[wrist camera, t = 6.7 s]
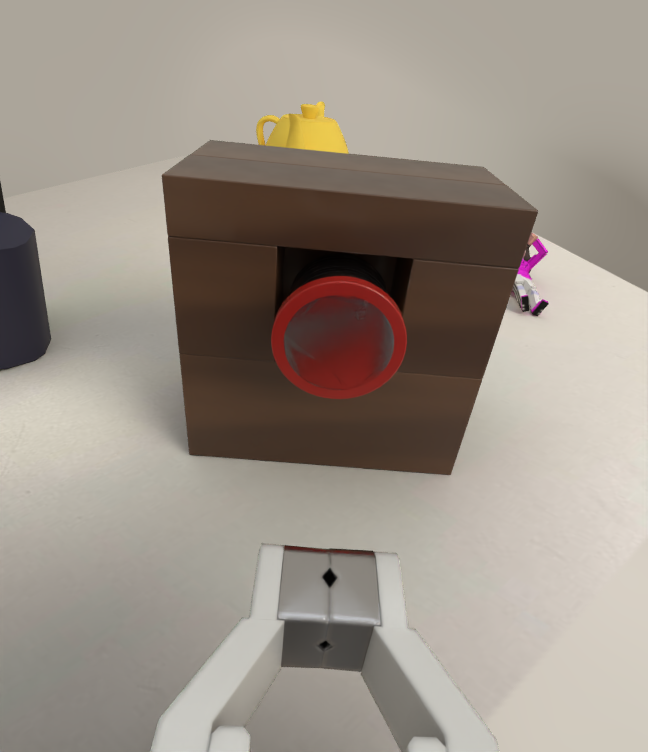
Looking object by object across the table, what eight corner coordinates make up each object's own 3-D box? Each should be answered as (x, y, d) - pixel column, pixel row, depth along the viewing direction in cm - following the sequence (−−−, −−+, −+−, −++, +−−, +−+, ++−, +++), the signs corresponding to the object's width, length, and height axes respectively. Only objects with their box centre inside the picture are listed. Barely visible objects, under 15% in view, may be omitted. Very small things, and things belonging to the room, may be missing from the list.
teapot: (270, 170, 83) (271, 93, 76) (355, 181, 81) (364, 104, 75) (230, 198, 66) (228, 103, 60) (335, 213, 65) (345, 117, 58)
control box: (451, 475, 26) (539, 210, 18) (188, 455, 25) (161, 174, 17) (427, 388, 32) (484, 166, 24) (219, 370, 32) (209, 139, 24)
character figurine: (554, 327, 44) (524, 264, 53) (576, 277, 41) (540, 219, 50) (491, 321, 44) (472, 259, 53) (508, 272, 41) (485, 215, 50)
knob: (394, 404, 20) (419, 288, 17) (269, 394, 20) (272, 275, 17) (386, 354, 23) (406, 249, 20) (278, 344, 23) (283, 238, 20)
